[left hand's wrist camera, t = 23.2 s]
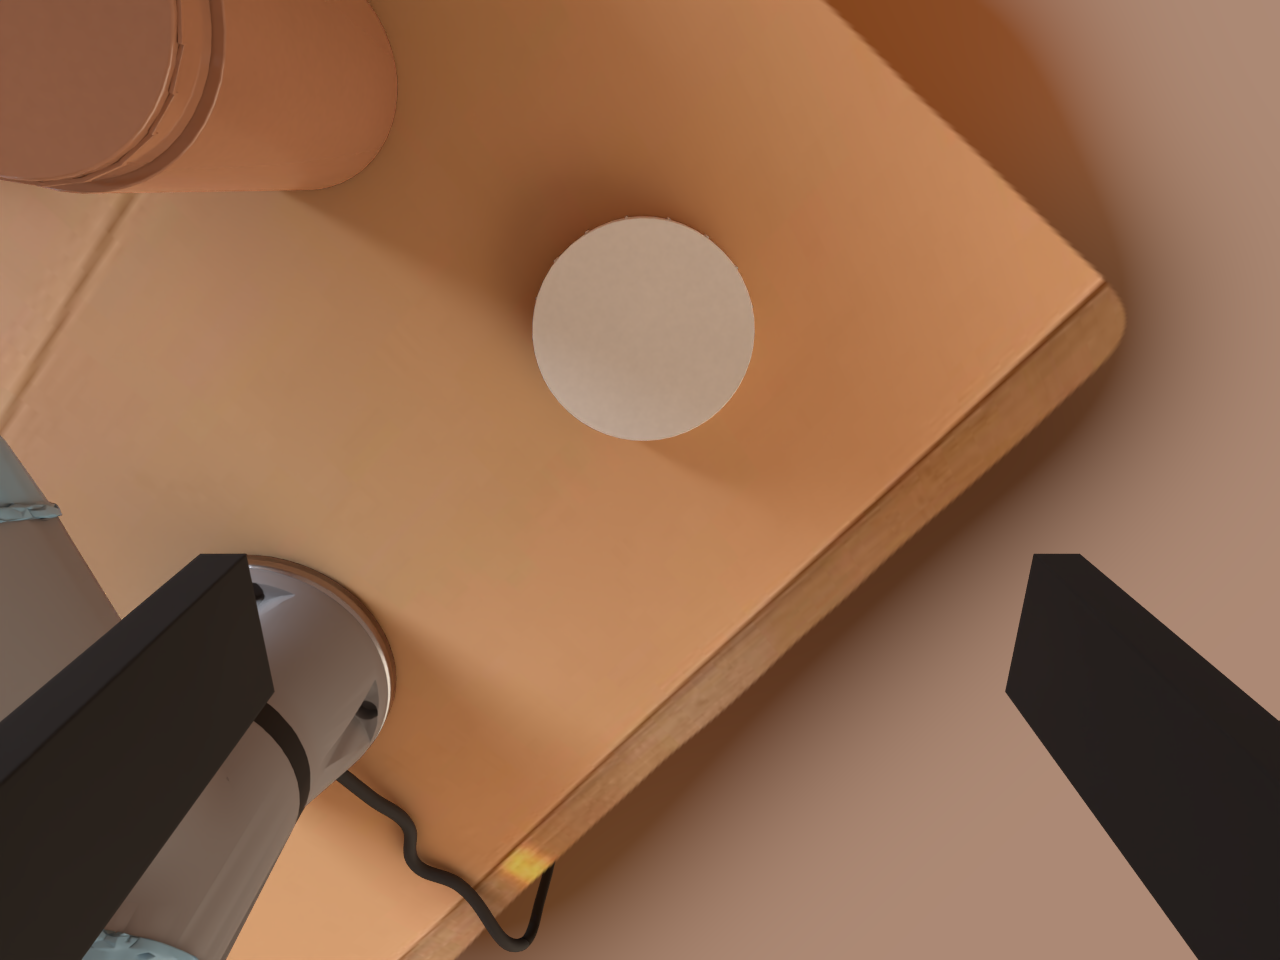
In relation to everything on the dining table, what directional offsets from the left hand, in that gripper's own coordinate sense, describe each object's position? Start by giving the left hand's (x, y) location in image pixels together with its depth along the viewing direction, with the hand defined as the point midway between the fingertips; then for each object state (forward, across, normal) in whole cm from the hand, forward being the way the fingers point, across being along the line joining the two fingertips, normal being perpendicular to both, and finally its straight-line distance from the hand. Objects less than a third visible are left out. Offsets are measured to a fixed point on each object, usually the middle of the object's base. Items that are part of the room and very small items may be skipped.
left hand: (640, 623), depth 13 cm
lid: (+26, 0, 0) cm, 27 cm away
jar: (+28, -16, +12) cm, 35 cm away
